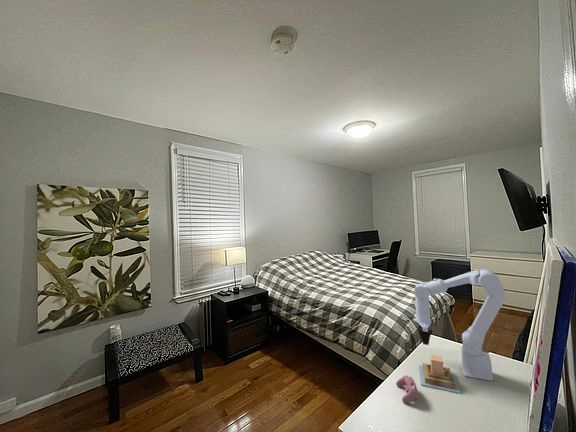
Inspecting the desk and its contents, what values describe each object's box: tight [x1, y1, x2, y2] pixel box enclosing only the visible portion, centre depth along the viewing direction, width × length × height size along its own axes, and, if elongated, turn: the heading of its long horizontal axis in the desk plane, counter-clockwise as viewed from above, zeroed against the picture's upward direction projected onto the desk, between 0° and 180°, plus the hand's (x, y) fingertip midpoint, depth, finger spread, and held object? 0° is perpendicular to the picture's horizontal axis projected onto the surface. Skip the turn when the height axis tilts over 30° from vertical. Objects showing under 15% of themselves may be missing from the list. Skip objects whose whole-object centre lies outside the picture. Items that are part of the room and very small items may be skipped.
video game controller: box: [395, 374, 419, 404], centre depth 89 cm, size 10×5×7 cm, turn 169°
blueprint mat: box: [418, 364, 462, 395], centre depth 97 cm, size 13×13×1 cm
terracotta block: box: [429, 354, 444, 376], centre depth 97 cm, size 4×4×6 cm
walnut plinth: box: [421, 362, 455, 389], centre depth 97 cm, size 10×10×3 cm
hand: (424, 340), depth 109 cm, fingers open, 7 cm apart
